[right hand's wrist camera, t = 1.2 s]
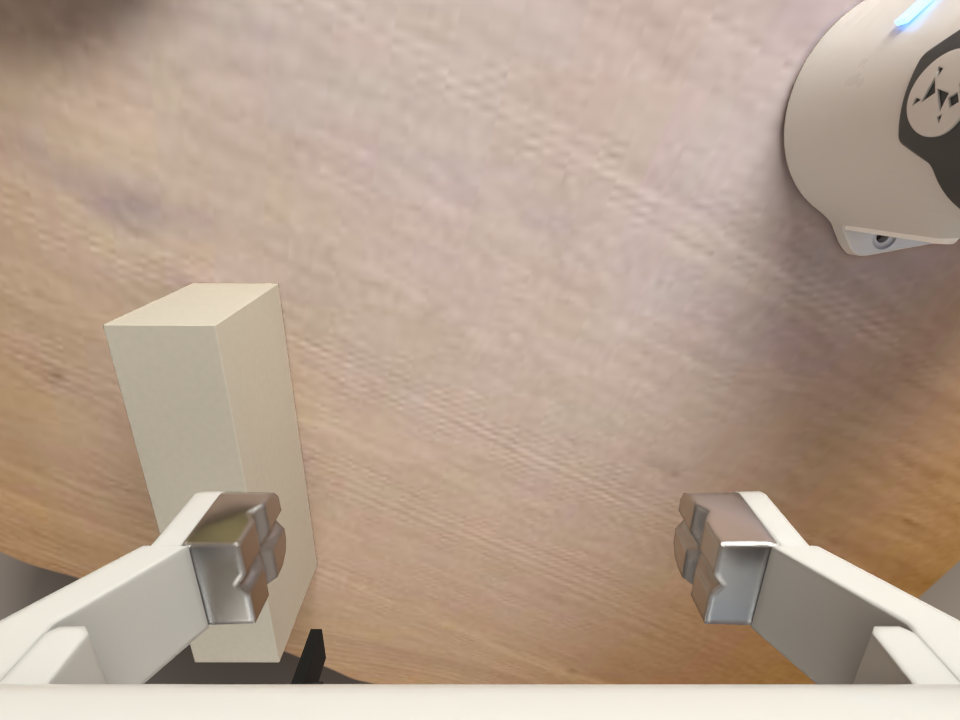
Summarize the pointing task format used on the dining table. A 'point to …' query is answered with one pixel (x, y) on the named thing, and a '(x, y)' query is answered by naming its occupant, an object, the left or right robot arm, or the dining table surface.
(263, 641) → the box
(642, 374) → the dining table surface
